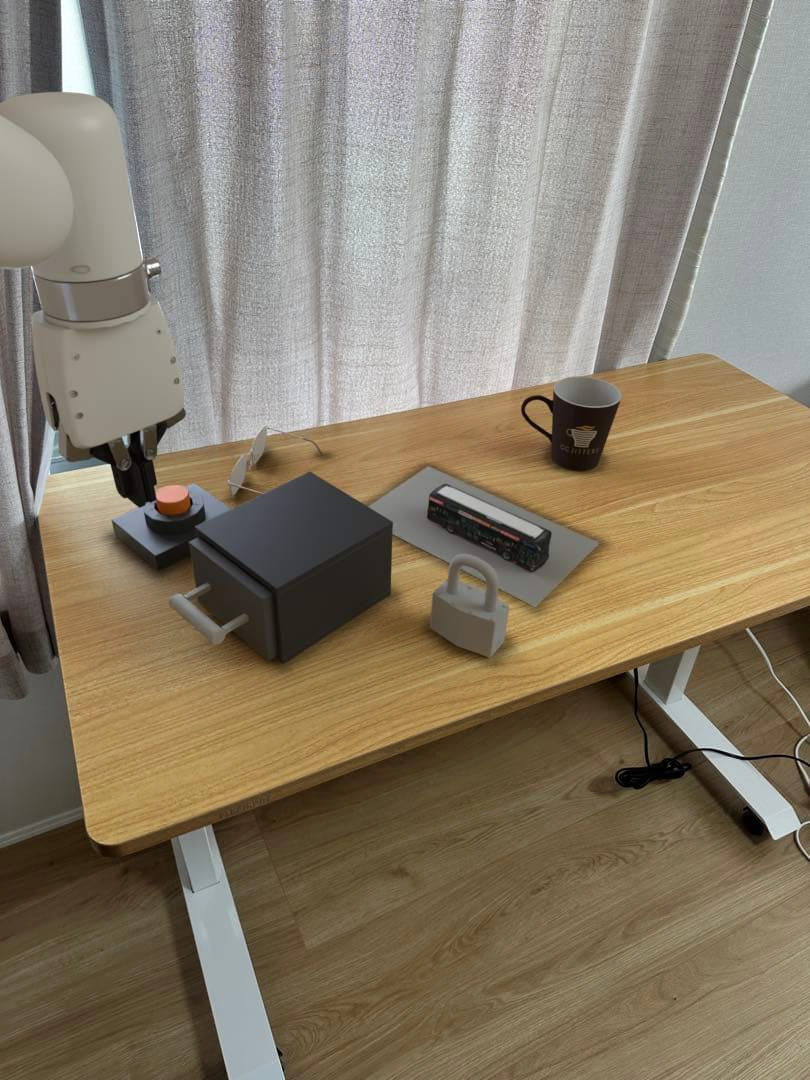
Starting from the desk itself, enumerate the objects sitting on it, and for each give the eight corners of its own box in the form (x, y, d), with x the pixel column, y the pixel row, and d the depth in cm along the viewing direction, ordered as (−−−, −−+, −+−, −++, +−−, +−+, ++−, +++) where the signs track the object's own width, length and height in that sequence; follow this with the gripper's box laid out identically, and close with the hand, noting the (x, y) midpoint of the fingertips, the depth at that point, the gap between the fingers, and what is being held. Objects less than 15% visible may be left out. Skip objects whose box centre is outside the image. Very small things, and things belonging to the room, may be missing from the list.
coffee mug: (616, 454, 110) (631, 388, 104) (592, 483, 104) (607, 414, 98) (538, 429, 115) (548, 364, 108) (511, 455, 109) (520, 388, 103)
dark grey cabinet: (282, 664, 77) (276, 588, 71) (205, 600, 84) (194, 526, 78) (390, 594, 85) (393, 521, 79) (312, 541, 92) (309, 470, 86)
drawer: (231, 684, 73) (222, 622, 69) (161, 622, 80) (149, 561, 75) (371, 595, 84) (372, 536, 79) (300, 546, 90) (297, 488, 85)
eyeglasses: (266, 445, 108) (266, 420, 106) (324, 458, 108) (325, 432, 105) (227, 503, 97) (226, 476, 95) (291, 517, 97) (291, 490, 94)
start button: (169, 519, 88) (166, 506, 87) (151, 506, 90) (148, 493, 89) (196, 506, 90) (195, 494, 89) (178, 493, 92) (176, 480, 91)
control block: (158, 571, 87) (152, 542, 85) (114, 535, 92) (108, 506, 89) (241, 530, 93) (238, 501, 91) (196, 497, 98) (192, 470, 96)
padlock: (507, 639, 81) (519, 561, 75) (487, 662, 78) (498, 584, 72) (447, 610, 84) (454, 533, 78) (426, 632, 81) (431, 554, 75)
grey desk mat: (534, 607, 85) (540, 576, 82) (355, 515, 96) (355, 485, 94) (599, 543, 94) (606, 513, 91) (428, 466, 106) (429, 438, 103)
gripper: (157, 253, 64) (189, 449, 76) (-33, 300, 56) (35, 513, 67) (211, 279, 60) (236, 482, 72) (14, 334, 52) (79, 555, 63)
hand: (139, 497), depth 69 cm, fingers closed
